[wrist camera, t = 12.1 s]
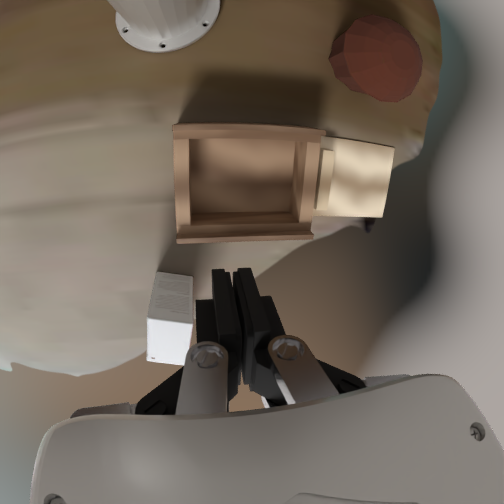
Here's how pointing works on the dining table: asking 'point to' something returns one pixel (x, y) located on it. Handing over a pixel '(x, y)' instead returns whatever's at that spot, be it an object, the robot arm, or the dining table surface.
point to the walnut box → (244, 181)
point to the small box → (170, 318)
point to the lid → (352, 178)
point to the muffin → (377, 59)
